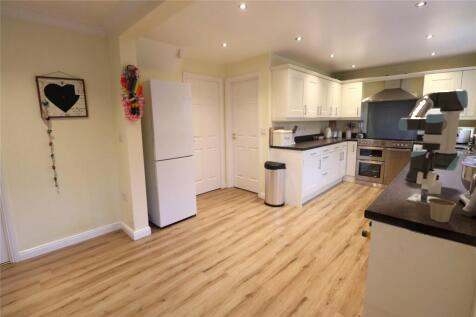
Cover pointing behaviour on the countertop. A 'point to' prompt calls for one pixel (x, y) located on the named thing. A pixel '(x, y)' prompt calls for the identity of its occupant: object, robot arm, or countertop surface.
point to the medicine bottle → (433, 187)
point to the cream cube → (430, 180)
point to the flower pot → (440, 209)
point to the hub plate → (417, 199)
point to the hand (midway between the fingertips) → (425, 183)
